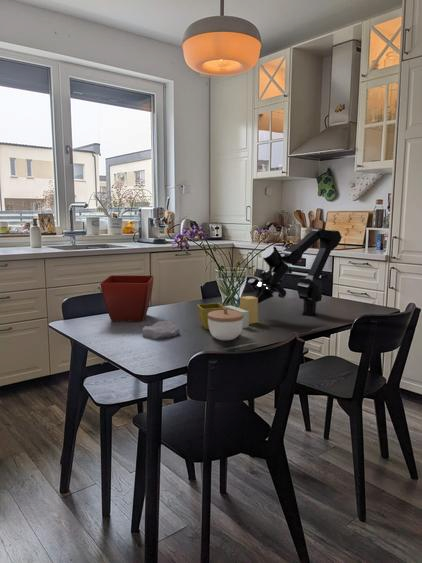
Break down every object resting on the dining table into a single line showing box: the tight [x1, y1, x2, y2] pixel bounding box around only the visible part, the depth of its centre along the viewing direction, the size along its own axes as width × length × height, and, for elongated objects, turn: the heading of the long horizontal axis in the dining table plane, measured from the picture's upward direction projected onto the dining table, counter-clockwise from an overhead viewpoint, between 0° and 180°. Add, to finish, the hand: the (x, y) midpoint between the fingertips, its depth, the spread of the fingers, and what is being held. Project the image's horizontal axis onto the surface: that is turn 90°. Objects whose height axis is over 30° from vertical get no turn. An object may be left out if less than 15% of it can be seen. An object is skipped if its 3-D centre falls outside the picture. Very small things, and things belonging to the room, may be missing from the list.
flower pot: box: [196, 302, 225, 330], centre depth 169 cm, size 9×9×9 cm
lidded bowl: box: [208, 308, 243, 341], centre depth 156 cm, size 13×13×11 cm
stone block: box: [141, 320, 180, 340], centre depth 161 cm, size 12×5×10 cm
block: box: [239, 295, 259, 325], centre depth 174 cm, size 8×5×10 cm, turn 122°
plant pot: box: [100, 274, 154, 323], centre depth 184 cm, size 19×19×17 cm
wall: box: [224, 305, 250, 329], centre depth 172 cm, size 3×12×6 cm, turn 32°
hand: (254, 303), depth 176 cm, fingers closed, pressing on block
